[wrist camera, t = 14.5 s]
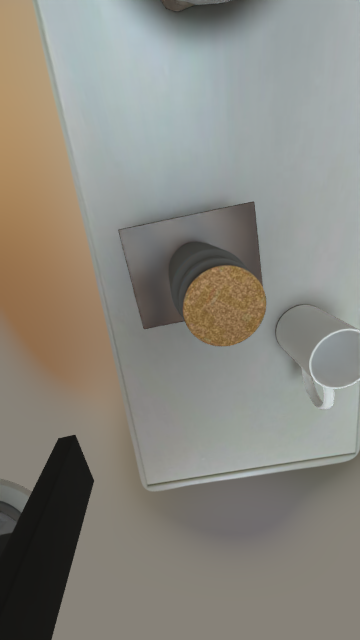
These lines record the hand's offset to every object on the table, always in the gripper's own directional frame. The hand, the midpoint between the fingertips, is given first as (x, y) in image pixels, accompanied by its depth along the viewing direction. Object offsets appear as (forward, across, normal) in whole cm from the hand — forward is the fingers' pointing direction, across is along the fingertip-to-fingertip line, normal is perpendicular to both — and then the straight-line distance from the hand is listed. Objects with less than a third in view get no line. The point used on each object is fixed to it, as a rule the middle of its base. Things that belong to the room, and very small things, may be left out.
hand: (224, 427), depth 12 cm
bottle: (+20, +2, +4) cm, 20 cm away
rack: (+28, +2, +4) cm, 29 cm away
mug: (+29, +16, -12) cm, 35 cm away
